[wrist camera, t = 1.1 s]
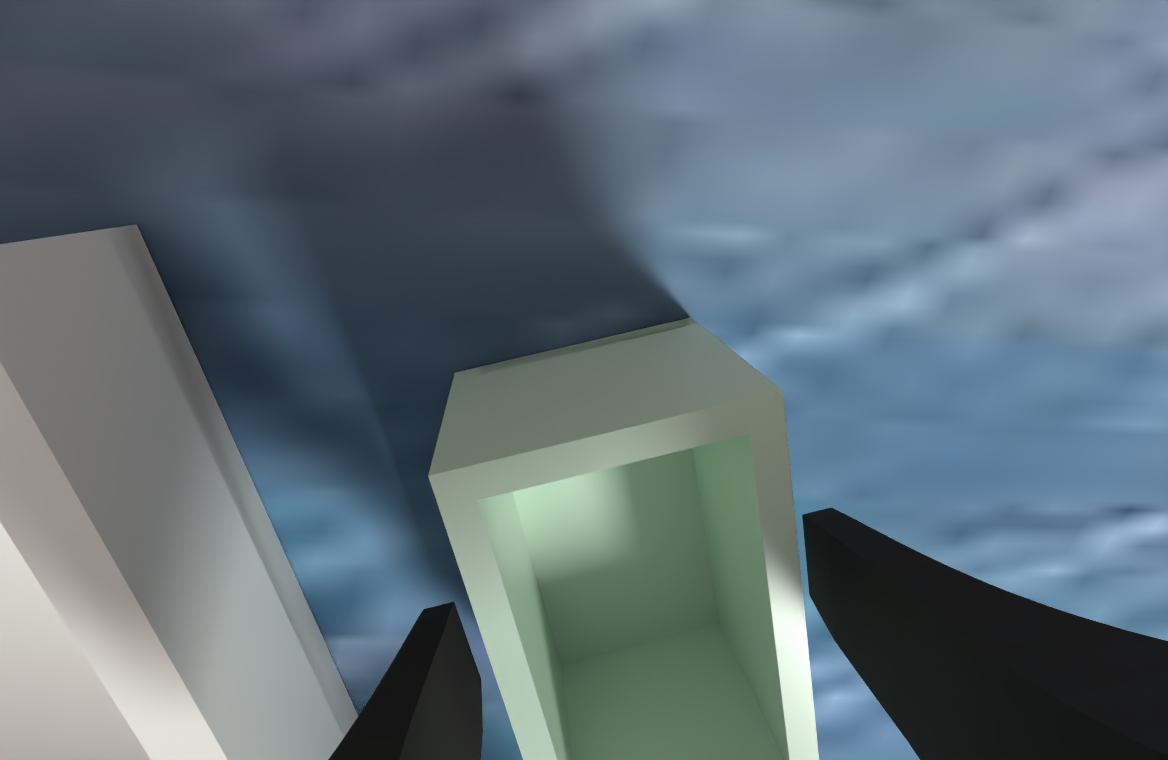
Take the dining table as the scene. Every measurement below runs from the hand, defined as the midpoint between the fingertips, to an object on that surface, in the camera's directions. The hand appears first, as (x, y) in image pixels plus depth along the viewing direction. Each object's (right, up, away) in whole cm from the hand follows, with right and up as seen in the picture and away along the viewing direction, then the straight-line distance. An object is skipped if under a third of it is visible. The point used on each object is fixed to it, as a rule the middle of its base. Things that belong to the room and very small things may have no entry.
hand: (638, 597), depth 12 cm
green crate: (0, +1, +3) cm, 4 cm away
